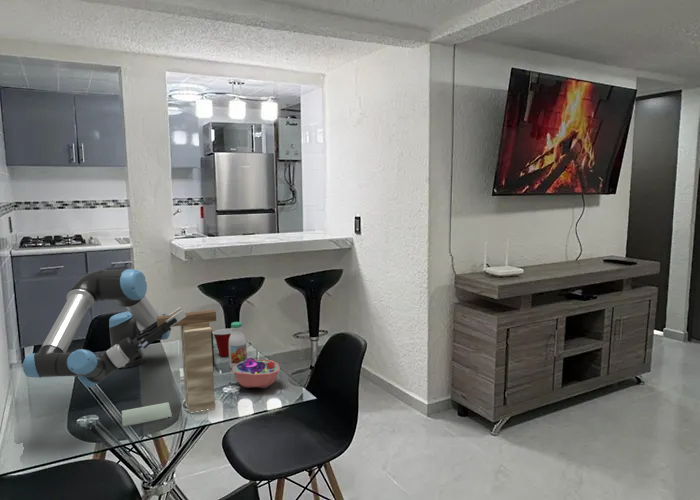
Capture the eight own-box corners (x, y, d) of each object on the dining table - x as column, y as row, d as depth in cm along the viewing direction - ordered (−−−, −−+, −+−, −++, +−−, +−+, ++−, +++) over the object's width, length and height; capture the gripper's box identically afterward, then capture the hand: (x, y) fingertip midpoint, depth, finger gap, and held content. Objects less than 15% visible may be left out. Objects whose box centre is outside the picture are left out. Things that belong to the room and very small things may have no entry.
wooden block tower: (185, 400, 195) (180, 319, 190) (209, 396, 199) (205, 316, 194) (189, 413, 184) (184, 328, 180) (215, 408, 188) (210, 324, 183)
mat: (121, 412, 186) (121, 410, 186) (168, 403, 192) (168, 402, 192) (122, 426, 175) (122, 425, 175) (172, 417, 182) (171, 415, 182)
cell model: (263, 399, 195) (262, 370, 194) (223, 389, 205) (222, 362, 203) (289, 383, 210) (289, 356, 208) (251, 374, 220) (250, 349, 218)
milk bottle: (225, 368, 227) (223, 324, 224) (236, 362, 234) (234, 319, 231) (240, 370, 224) (238, 326, 221) (250, 364, 231) (248, 321, 228)
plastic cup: (231, 349, 252) (230, 325, 250) (241, 355, 244) (240, 330, 242) (210, 354, 245) (208, 330, 244) (219, 360, 237) (218, 335, 235)
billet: (157, 325, 183) (156, 316, 183) (214, 318, 191) (214, 309, 191) (158, 328, 180) (157, 318, 179) (216, 320, 188) (215, 311, 188)
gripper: (130, 352, 187) (186, 314, 193) (131, 368, 172) (192, 325, 178) (117, 336, 184) (174, 298, 191) (117, 351, 169) (180, 308, 176)
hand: (183, 311), depth 185 cm, fingers closed on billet, 3 cm apart
